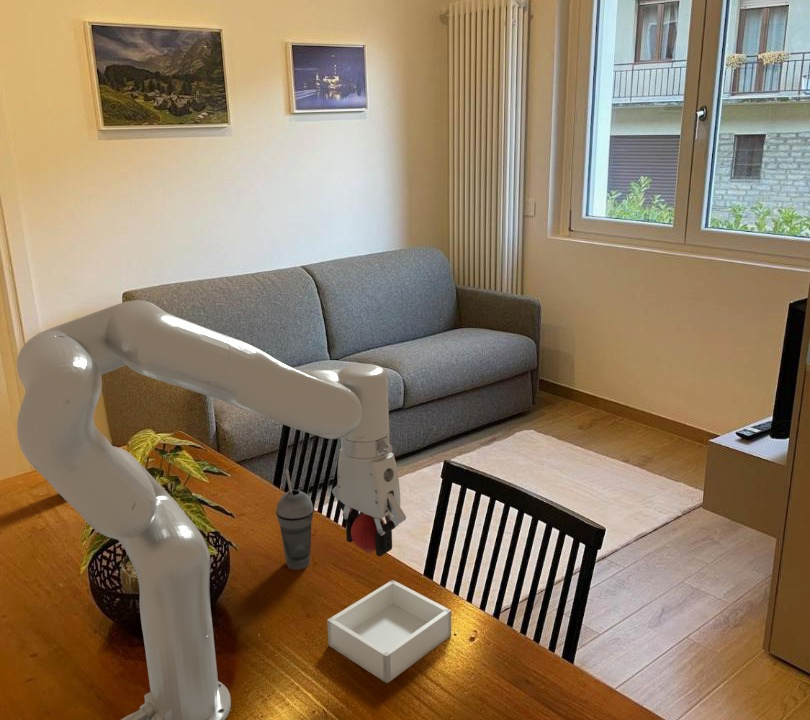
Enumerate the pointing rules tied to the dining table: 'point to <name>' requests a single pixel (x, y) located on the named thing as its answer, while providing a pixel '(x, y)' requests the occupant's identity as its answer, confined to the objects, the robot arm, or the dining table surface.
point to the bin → (389, 630)
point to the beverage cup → (295, 526)
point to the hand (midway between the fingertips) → (369, 544)
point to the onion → (364, 532)
